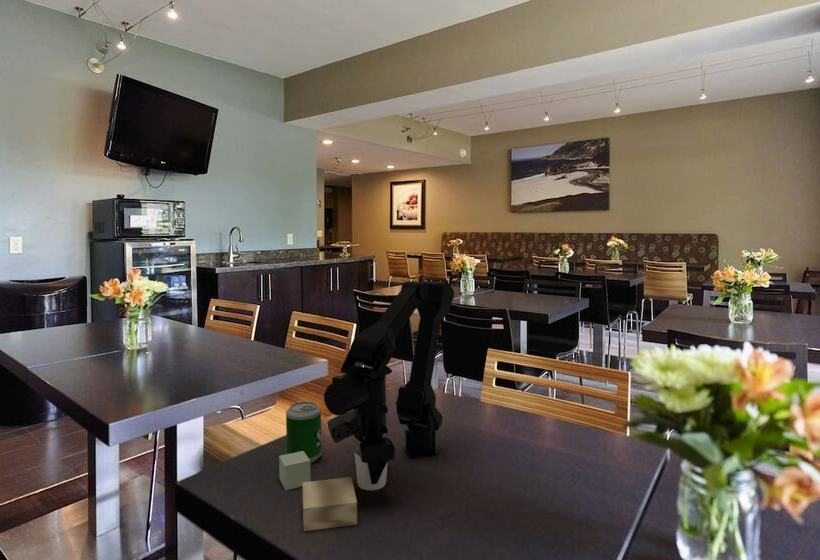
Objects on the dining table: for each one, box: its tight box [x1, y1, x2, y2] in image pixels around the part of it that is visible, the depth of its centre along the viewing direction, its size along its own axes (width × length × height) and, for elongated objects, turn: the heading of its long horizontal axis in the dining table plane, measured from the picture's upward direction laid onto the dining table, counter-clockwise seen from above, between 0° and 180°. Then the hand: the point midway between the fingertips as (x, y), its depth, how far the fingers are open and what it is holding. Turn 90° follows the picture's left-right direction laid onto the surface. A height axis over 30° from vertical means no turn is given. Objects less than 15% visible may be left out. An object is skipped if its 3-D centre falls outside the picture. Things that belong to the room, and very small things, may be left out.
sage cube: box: [278, 451, 312, 491], centre depth 100 cm, size 5×5×5 cm
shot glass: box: [353, 445, 389, 491], centre depth 99 cm, size 7×7×7 cm
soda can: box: [285, 401, 323, 464], centre depth 110 cm, size 8×8×12 cm
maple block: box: [302, 476, 358, 532], centre depth 89 cm, size 9×9×4 cm
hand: (371, 475), depth 100 cm, fingers closed on shot glass, 6 cm apart
